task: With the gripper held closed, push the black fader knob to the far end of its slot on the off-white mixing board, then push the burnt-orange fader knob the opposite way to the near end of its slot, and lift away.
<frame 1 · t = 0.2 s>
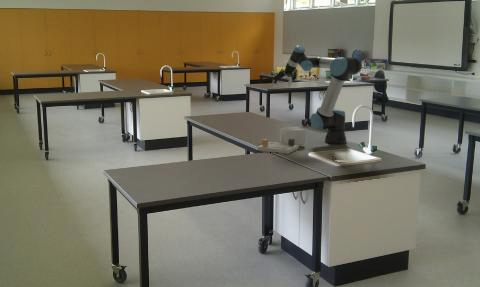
hand: (281, 86, 402), 36 cm above the lab bench, tool tilted 35°, fingers open, 13 cm apart
mixing board: (278, 149, 352), on the lab bench
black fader: (291, 142, 353), point 5 cm above the lab bench, slide at 0.0 cm
orange fader: (265, 142, 350), point 5 cm above the lab bench, slide at 0.0 cm
cable organizer: (291, 145, 367), on the lab bench
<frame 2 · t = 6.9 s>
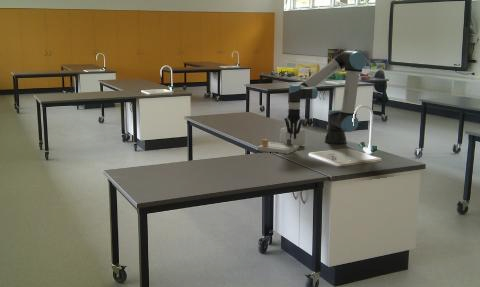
hand: (292, 143, 352), 4 cm above the lab bench, tool pointing down, fingers closed
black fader: (289, 141, 353), point 5 cm above the lab bench, slide at 1.1 cm, touching gripper
everything else where it was.
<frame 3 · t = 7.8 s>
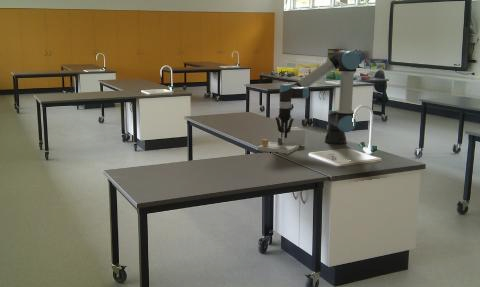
hand: (283, 142, 355), 4 cm above the lab bench, tool pointing down, fingers closed
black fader: (280, 140, 356), point 5 cm above the lab bench, slide at 7.7 cm, touching gripper
everything else where it was.
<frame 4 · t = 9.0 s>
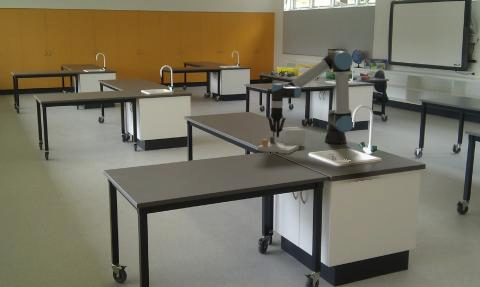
hand: (275, 141, 358), 4 cm above the lab bench, tool pointing down, fingers closed
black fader: (273, 139, 359), point 5 cm above the lab bench, slide at 13.5 cm, touching gripper
everything else where it was.
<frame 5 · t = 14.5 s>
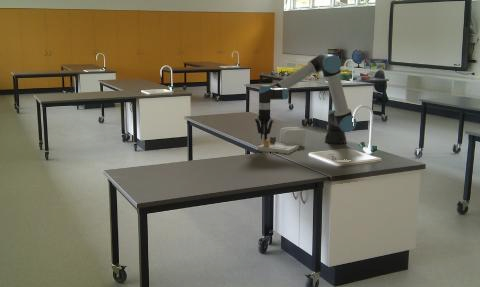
hand: (263, 144, 351), 4 cm above the lab bench, tool pointing down, fingers closed
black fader: (272, 139, 359), point 5 cm above the lab bench, slide at 13.7 cm
orange fader: (266, 142, 349), point 5 cm above the lab bench, slide at 1.1 cm, touching gripper
everything else where it was.
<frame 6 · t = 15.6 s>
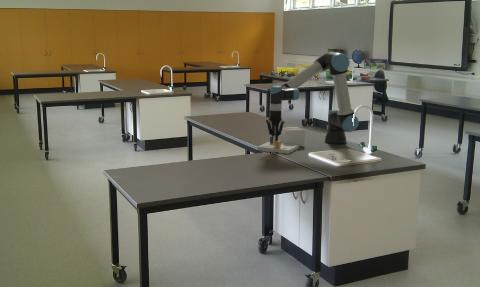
hand: (274, 145, 347), 4 cm above the lab bench, tool pointing down, fingers closed
orange fader: (277, 144, 346), point 5 cm above the lab bench, slide at 9.0 cm, touching gripper
everything else where it was.
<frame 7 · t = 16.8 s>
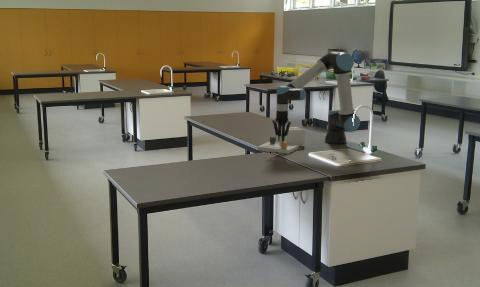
hand: (281, 146, 345), 4 cm above the lab bench, tool pointing down, fingers closed
orange fader: (284, 145, 344), point 5 cm above the lab bench, slide at 13.7 cm, touching gripper
everything else where it was.
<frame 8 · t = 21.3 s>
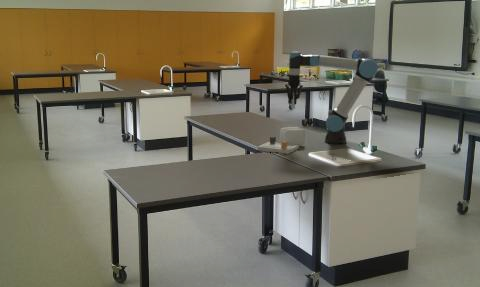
hand: (293, 108, 367), 24 cm above the lab bench, tool pointing down, fingers closed
orange fader: (284, 145, 343), point 5 cm above the lab bench, slide at 13.7 cm
everything else where it was.
at the end: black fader slide at 13.7 cm; orange fader slide at 13.7 cm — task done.
